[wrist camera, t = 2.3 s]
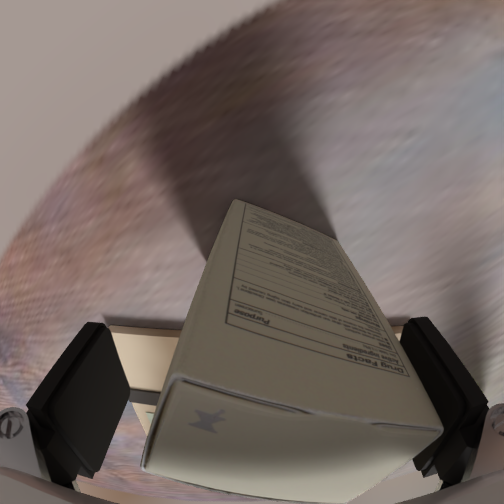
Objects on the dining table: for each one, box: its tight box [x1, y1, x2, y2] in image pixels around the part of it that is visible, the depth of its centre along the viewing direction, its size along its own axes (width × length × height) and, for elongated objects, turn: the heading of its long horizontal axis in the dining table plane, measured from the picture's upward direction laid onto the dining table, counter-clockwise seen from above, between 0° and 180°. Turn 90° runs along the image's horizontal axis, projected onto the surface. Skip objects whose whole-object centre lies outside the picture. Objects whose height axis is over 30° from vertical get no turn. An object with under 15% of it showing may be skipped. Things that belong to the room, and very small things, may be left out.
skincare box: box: [140, 199, 444, 504], centre depth 11 cm, size 6×4×12 cm
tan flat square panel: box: [108, 325, 403, 436], centre depth 21 cm, size 20×19×1 cm
